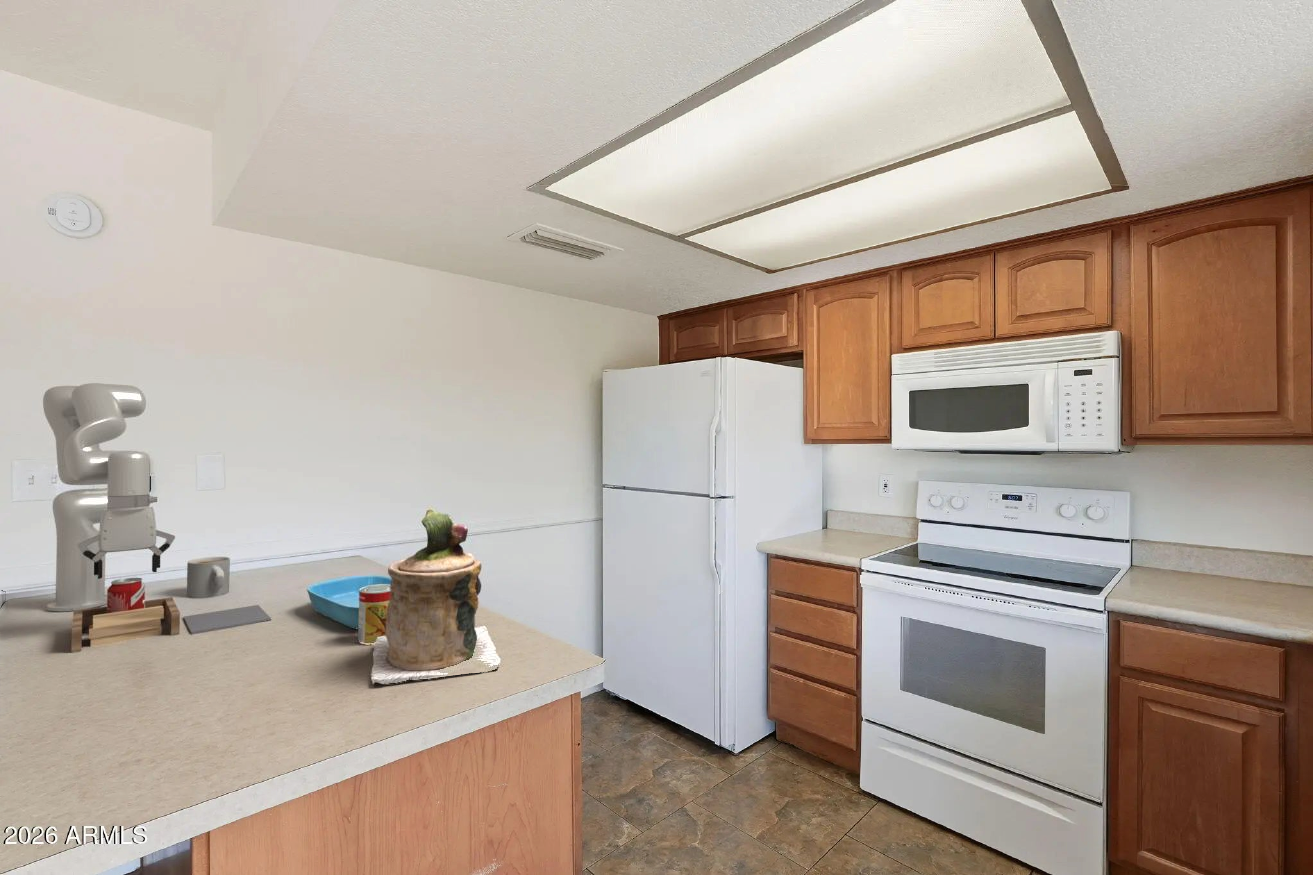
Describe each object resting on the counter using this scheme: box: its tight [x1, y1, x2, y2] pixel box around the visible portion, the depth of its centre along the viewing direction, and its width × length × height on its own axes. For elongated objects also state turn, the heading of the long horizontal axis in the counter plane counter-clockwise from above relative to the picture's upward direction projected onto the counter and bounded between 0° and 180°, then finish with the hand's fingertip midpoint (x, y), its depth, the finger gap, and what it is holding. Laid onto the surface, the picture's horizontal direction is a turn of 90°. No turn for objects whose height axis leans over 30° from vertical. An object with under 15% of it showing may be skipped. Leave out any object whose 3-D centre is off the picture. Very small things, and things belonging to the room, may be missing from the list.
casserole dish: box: [306, 574, 392, 630], centre depth 155 cm, size 37×22×7 cm, turn 53°
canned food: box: [357, 584, 391, 643], centre depth 136 cm, size 8×8×12 cm
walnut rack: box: [70, 596, 181, 653], centre depth 137 cm, size 18×18×5 cm
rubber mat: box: [183, 604, 272, 635], centre depth 148 cm, size 16×16×1 cm
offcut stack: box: [88, 606, 164, 647], centre depth 134 cm, size 4×13×6 cm, turn 134°
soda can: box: [106, 577, 146, 614], centre depth 139 cm, size 7×7×12 cm
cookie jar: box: [370, 508, 502, 685], centre depth 125 cm, size 25×25×32 cm
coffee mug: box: [186, 556, 231, 599], centre depth 171 cm, size 13×10×10 cm
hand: (127, 574), depth 139 cm, fingers open, 9 cm apart
